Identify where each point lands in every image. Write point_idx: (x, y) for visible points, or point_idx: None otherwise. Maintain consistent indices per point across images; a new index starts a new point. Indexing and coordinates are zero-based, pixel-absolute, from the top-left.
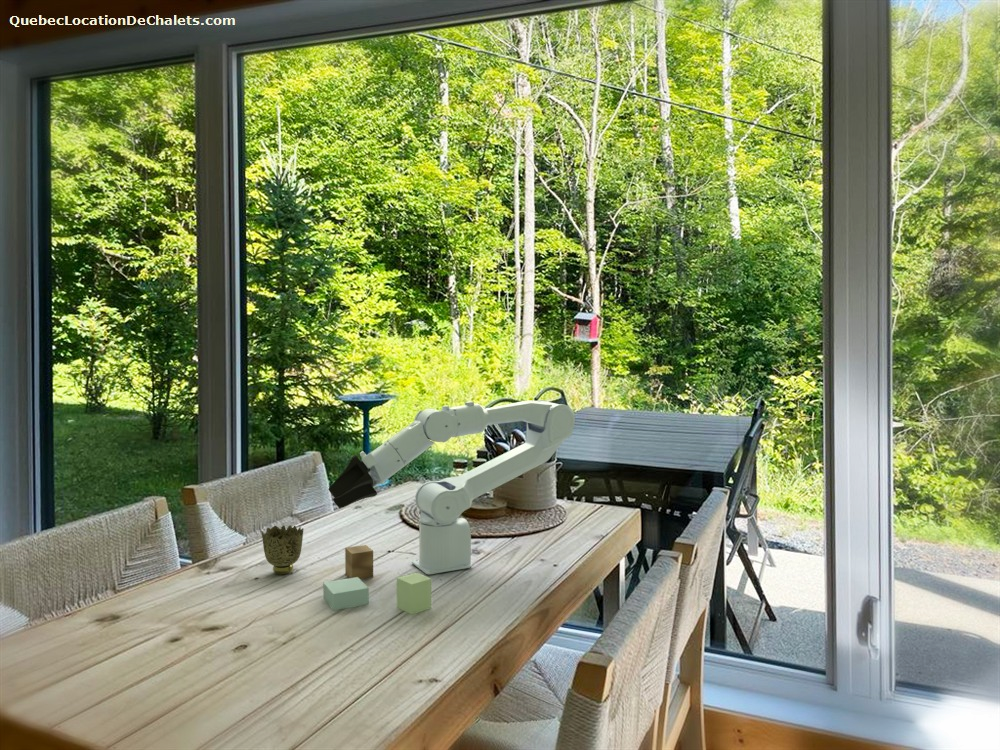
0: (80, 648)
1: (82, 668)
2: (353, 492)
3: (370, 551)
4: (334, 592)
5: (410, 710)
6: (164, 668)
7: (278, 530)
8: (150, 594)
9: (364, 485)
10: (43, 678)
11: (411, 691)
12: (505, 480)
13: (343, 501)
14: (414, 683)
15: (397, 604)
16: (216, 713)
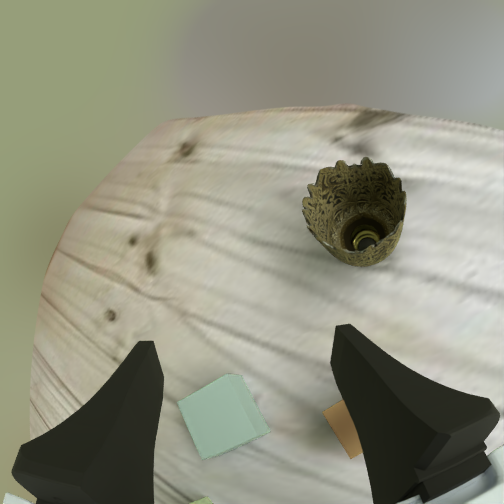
0: (132, 179)
1: (104, 208)
2: (368, 416)
3: (347, 452)
4: (182, 403)
5: None
6: (92, 267)
7: (390, 177)
8: (248, 133)
9: (390, 474)
10: (99, 196)
11: None
12: None
13: (341, 375)
14: None
15: (203, 498)
16: (47, 338)
